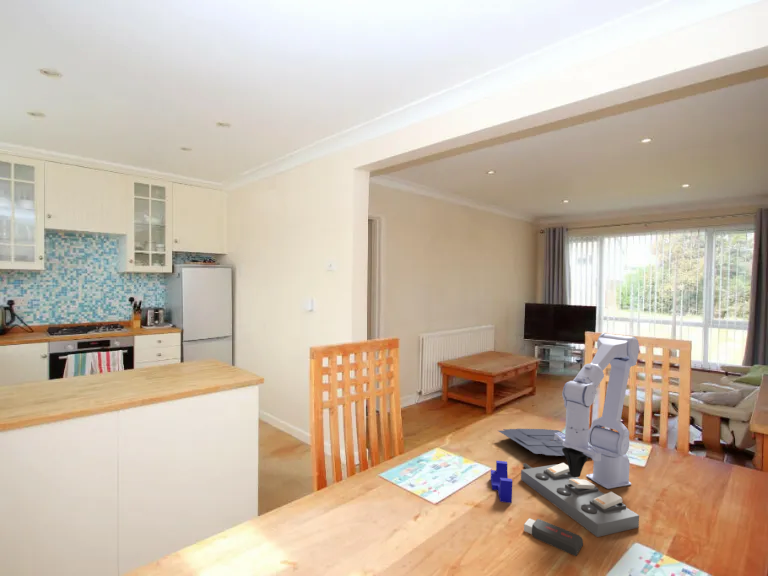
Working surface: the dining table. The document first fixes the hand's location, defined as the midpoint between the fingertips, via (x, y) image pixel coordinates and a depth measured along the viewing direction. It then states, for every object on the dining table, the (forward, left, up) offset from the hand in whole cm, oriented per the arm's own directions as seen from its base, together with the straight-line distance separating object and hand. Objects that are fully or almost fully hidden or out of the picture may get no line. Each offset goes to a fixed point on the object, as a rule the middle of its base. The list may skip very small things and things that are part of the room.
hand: (575, 476), depth 111 cm
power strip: (0, -4, -7) cm, 8 cm away
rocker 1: (-2, -9, -2) cm, 9 cm away
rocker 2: (-2, +8, -2) cm, 9 cm away
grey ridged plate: (-19, -31, -7) cm, 37 cm away
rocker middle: (-2, 0, -2) cm, 3 cm away
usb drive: (+17, +11, -8) cm, 22 cm away
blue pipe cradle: (+16, -10, -7) cm, 21 cm away
